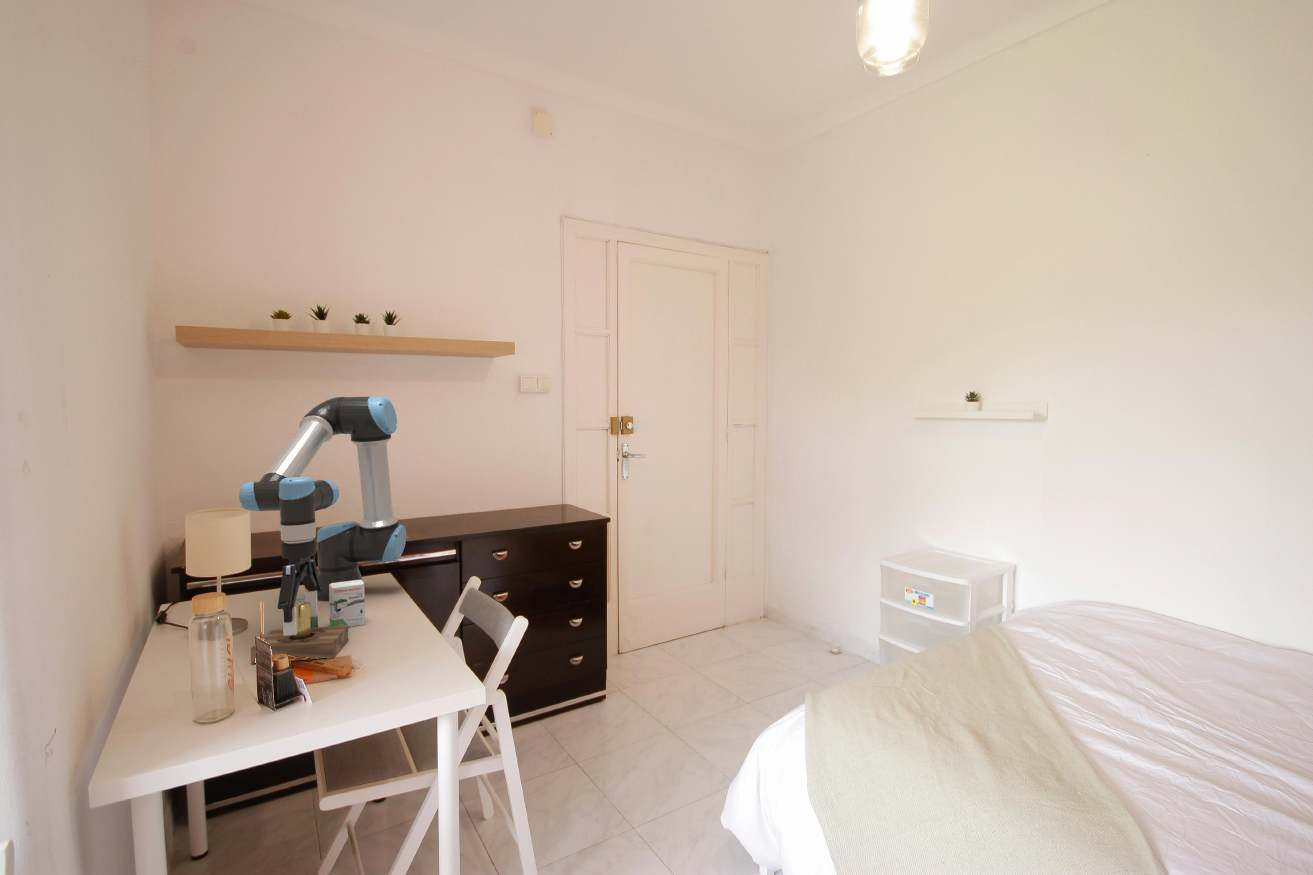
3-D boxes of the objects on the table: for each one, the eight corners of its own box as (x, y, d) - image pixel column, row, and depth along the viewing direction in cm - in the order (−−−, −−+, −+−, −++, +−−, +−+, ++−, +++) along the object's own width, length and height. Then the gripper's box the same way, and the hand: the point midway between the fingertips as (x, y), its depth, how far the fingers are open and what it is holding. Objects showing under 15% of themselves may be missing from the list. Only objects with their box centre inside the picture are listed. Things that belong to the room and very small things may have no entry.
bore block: (273, 645, 159) (272, 630, 159) (348, 640, 162) (348, 625, 162) (251, 664, 147) (250, 647, 147) (332, 658, 150) (332, 642, 150)
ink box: (331, 630, 170) (330, 587, 169) (329, 625, 174) (328, 583, 173) (366, 624, 174) (364, 582, 174) (363, 619, 179) (362, 578, 178)
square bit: (300, 634, 167) (298, 597, 166) (318, 633, 167) (317, 596, 167) (293, 640, 162) (292, 602, 162) (312, 639, 163) (310, 601, 163)
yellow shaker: (296, 649, 156) (295, 602, 156) (314, 648, 157) (312, 601, 156) (290, 655, 152) (288, 607, 152) (307, 654, 153) (306, 606, 152)
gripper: (301, 531, 165) (304, 610, 166) (258, 552, 140) (262, 644, 141) (332, 530, 166) (334, 608, 167) (294, 550, 142) (297, 642, 143)
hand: (301, 625), depth 154 cm, fingers open, 13 cm apart
